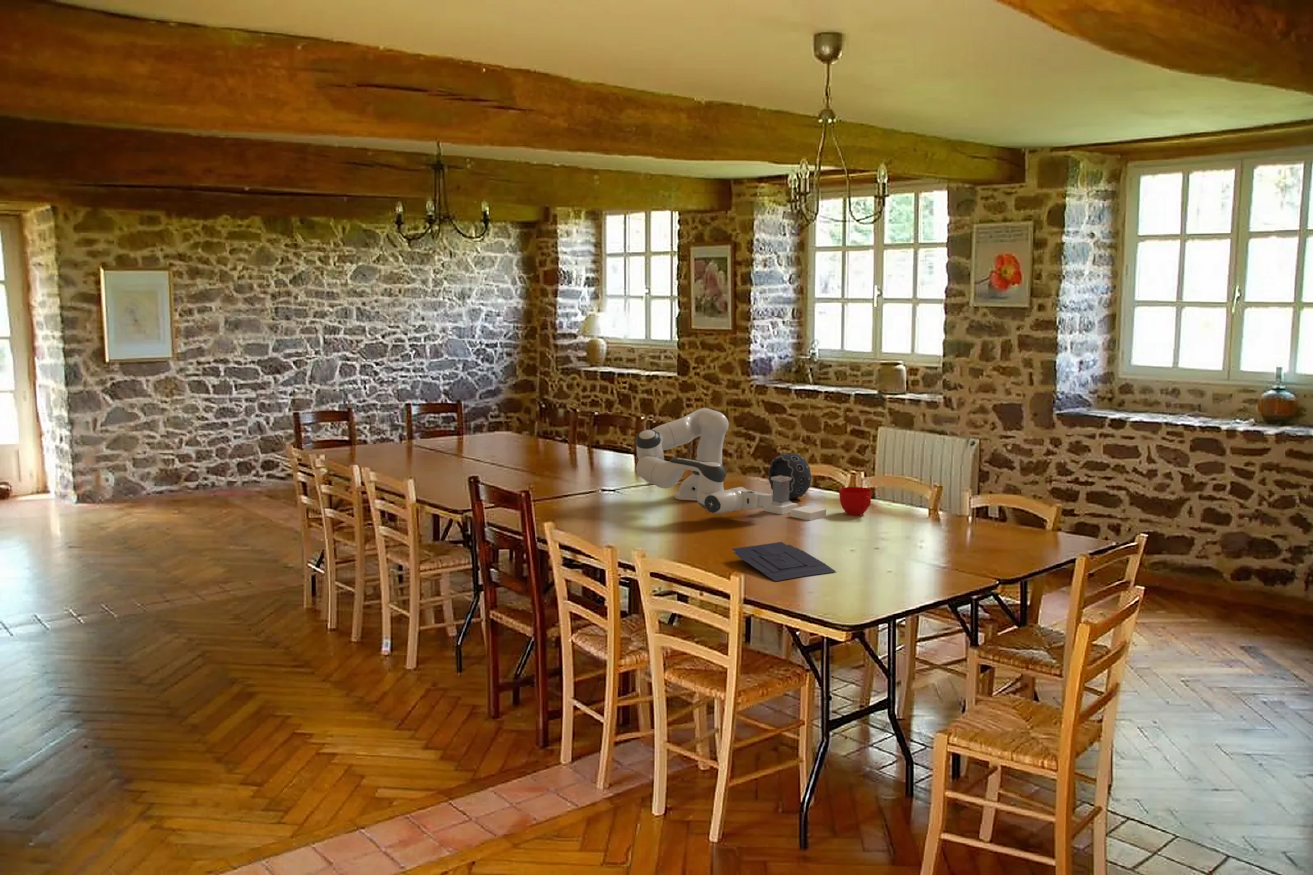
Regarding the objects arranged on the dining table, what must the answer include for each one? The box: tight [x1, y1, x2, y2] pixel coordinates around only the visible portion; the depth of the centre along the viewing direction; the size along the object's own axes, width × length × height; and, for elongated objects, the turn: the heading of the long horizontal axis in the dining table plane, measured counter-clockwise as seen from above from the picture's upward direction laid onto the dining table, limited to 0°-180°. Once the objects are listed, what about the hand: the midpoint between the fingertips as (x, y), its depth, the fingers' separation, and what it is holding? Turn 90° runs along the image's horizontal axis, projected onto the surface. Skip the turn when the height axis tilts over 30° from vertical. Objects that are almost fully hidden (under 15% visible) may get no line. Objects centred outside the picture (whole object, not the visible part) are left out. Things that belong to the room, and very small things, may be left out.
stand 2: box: [790, 505, 827, 521], centre depth 424 cm, size 10×10×3 cm
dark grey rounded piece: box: [767, 452, 812, 500], centre depth 459 cm, size 11×20×20 cm, turn 31°
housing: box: [771, 475, 792, 506], centre depth 434 cm, size 6×6×11 cm
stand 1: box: [763, 502, 799, 515], centre depth 435 cm, size 10×10×3 cm
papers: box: [731, 541, 837, 582], centre depth 350 cm, size 24×30×4 cm
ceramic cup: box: [838, 486, 872, 517], centre depth 426 cm, size 13×17×10 cm
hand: (762, 493), depth 426 cm, fingers open, 8 cm apart
